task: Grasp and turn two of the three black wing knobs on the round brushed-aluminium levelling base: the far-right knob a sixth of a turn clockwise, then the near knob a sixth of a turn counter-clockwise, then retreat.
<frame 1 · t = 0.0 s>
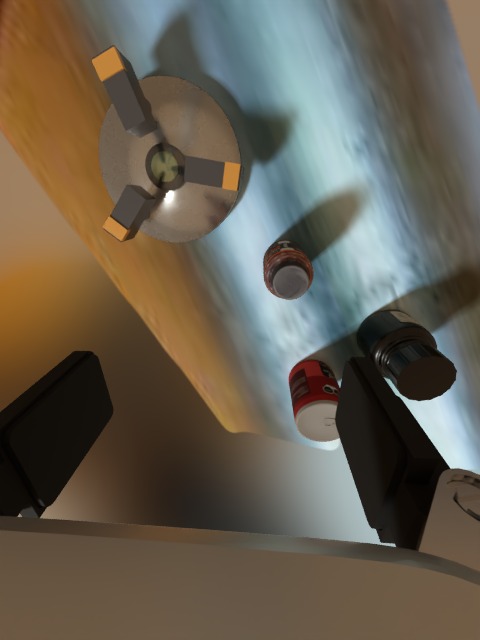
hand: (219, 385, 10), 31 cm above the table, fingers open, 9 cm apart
canned food: (310, 375, 47), on the table
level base: (174, 170, 35), on the table
knob b: (216, 175, 30), point 5 cm above the table, hinge at 0.0°
supplement bottle: (283, 259, 39), on the table
ink bottle: (383, 332, 43), on the table
knob c: (132, 99, 27), point 5 cm above the table, hinge at 0.0°
knob a: (133, 213, 32), point 5 cm above the table, hinge at 0.0°
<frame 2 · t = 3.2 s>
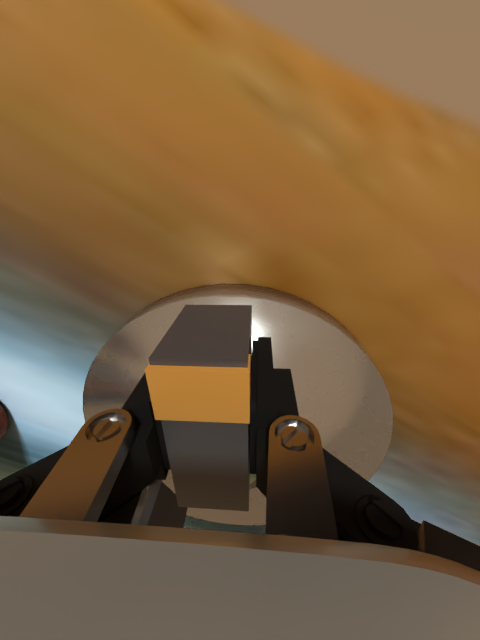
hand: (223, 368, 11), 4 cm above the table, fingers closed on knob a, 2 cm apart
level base: (235, 413, 17), on the table
knob b: (128, 523, 14), point 5 cm above the table, hinge at 0.0°
knob a: (219, 386, 10), point 5 cm above the table, hinge at 0.0°, touching gripper
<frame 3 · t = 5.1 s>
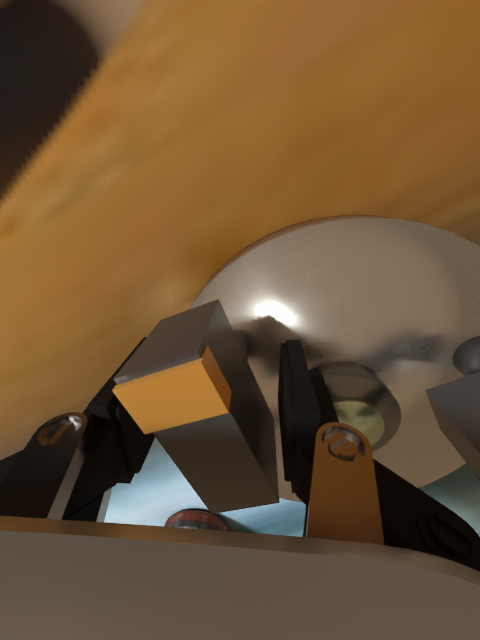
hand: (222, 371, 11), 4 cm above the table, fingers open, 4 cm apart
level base: (327, 377, 15), on the table
supplement bottle: (198, 523, 23), on the table
knob a: (218, 386, 10), point 5 cm above the table, hinge at -38.6°
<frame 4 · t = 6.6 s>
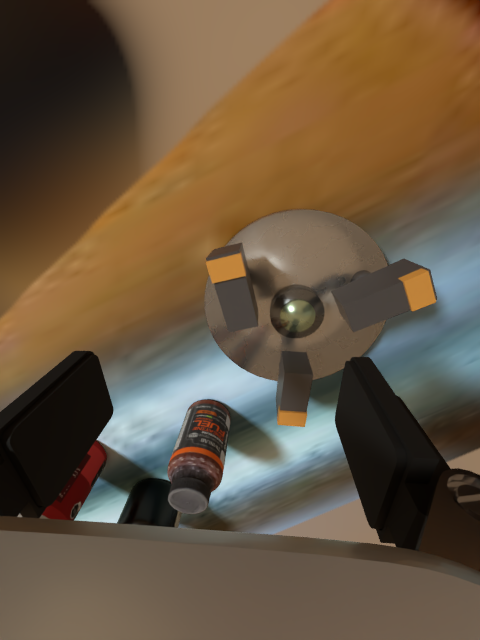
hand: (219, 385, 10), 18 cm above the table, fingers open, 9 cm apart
canned food: (84, 449, 40), on the table
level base: (292, 301, 27), on the table
knob b: (291, 382, 25), point 5 cm above the table, hinge at 0.0°
supplement bottle: (209, 413, 35), on the table
ink bottle: (159, 492, 44), on the table
knob c: (374, 291, 21), point 5 cm above the table, hinge at 0.0°
knob a: (236, 283, 22), point 5 cm above the table, hinge at -43.8°
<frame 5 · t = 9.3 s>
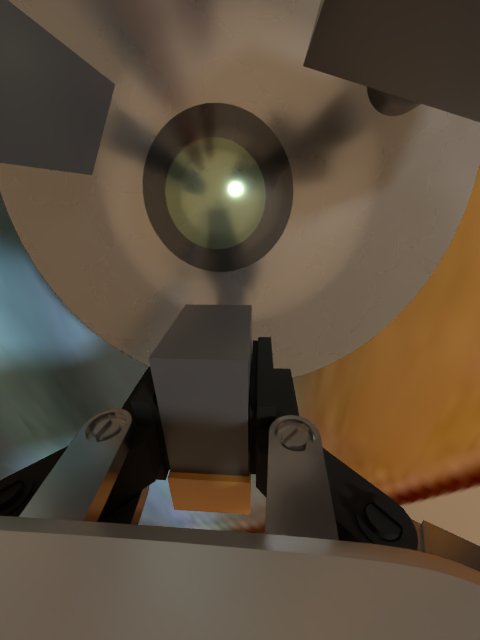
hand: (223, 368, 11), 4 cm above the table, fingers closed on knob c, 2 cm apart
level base: (228, 197, 12), on the table
knob c: (219, 386, 10), point 5 cm above the table, hinge at 0.0°, touching gripper
knob a: (469, 16, 5), point 5 cm above the table, hinge at -45.7°
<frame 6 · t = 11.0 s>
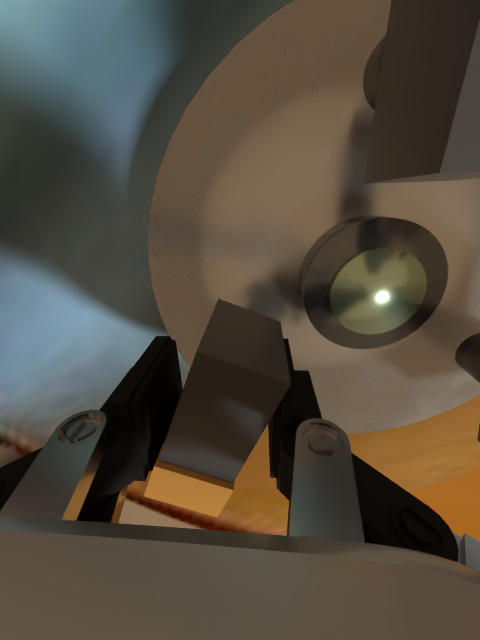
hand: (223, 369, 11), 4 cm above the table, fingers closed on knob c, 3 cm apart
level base: (345, 267, 13), on the table
knob b: (464, 13, 5), point 5 cm above the table, hinge at 0.0°
knob c: (220, 386, 10), point 5 cm above the table, hinge at 38.1°, touching gripper
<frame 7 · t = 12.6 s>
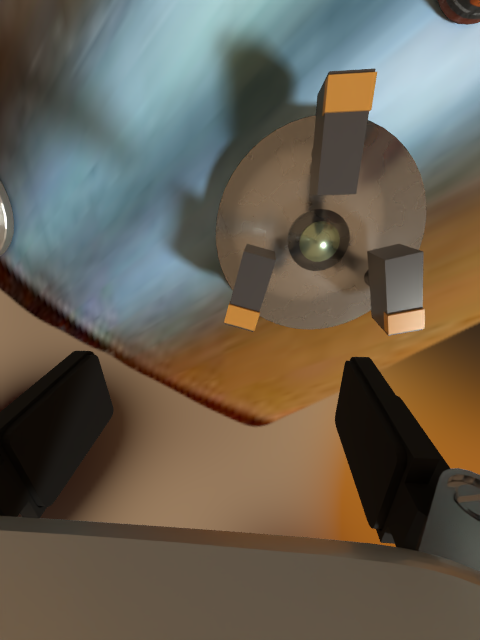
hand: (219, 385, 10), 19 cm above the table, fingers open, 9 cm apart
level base: (311, 236, 25), on the table
knob b: (333, 145, 18), point 5 cm above the table, hinge at 0.0°
knob c: (250, 283, 22), point 5 cm above the table, hinge at 44.3°
knob a: (388, 285, 21), point 5 cm above the table, hinge at -45.9°
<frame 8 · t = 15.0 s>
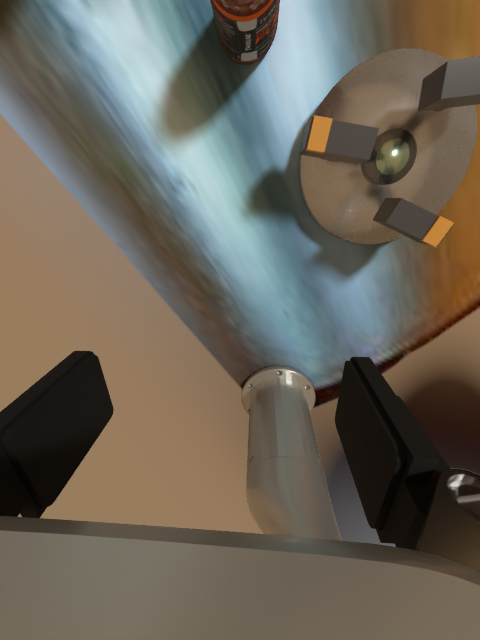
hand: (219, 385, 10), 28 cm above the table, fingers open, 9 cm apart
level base: (377, 161, 30), on the table
knob b: (333, 144, 25), point 5 cm above the table, hinge at 0.0°
supplement bottle: (247, 28, 26), on the table
knob c: (406, 221, 28), point 5 cm above the table, hinge at 46.2°
knob a: (461, 87, 23), point 5 cm above the table, hinge at -45.9°
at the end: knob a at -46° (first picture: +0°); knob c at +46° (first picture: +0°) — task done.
